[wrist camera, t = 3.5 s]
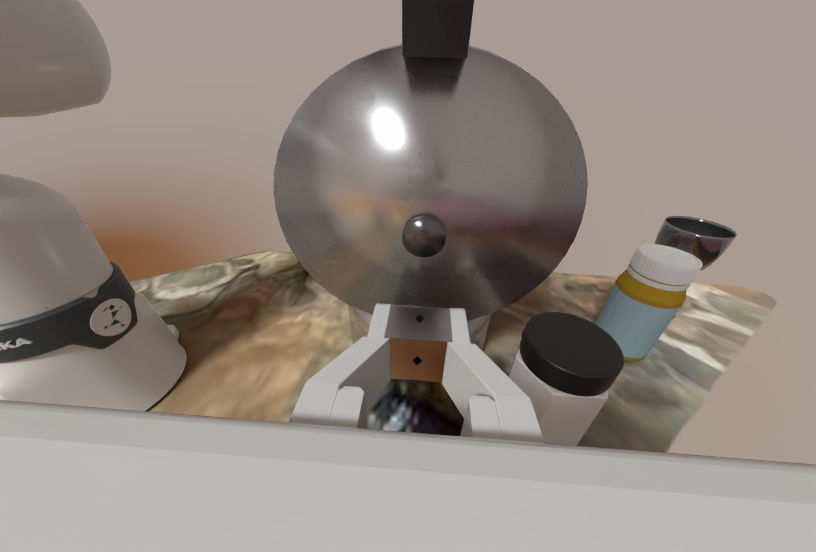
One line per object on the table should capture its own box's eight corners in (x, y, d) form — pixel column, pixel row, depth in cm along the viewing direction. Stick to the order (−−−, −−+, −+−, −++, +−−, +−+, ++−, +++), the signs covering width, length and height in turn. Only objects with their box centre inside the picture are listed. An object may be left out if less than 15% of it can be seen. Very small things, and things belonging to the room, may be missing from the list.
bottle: (642, 340, 43) (701, 251, 35) (646, 372, 38) (715, 278, 30) (590, 322, 46) (632, 237, 38) (587, 350, 41) (634, 259, 33)
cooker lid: (315, 307, 29) (307, 326, 27) (201, -68, 13) (162, -82, 11) (526, 319, 28) (532, 340, 26) (700, -66, 12) (748, -81, 10)
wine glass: (688, 325, 46) (752, 241, 38) (633, 317, 47) (682, 233, 39) (664, 296, 52) (713, 219, 44) (616, 289, 54) (655, 213, 46)
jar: (563, 387, 36) (601, 313, 29) (594, 457, 29) (652, 381, 22) (490, 381, 36) (511, 308, 30) (504, 449, 29) (535, 373, 23)
